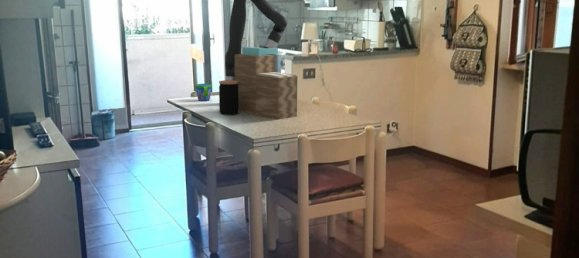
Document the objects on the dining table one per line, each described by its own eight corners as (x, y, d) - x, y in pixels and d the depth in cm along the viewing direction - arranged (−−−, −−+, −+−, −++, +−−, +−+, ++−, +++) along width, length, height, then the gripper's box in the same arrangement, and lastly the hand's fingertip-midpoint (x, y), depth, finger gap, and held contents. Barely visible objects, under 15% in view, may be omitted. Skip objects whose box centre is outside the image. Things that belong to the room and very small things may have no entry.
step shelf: (278, 119, 299) (278, 58, 293) (235, 110, 324) (234, 54, 318) (296, 116, 309) (297, 57, 302) (253, 107, 334) (253, 53, 327)
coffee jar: (241, 112, 318) (241, 80, 314) (233, 115, 308) (233, 83, 304) (224, 111, 321) (224, 79, 318) (216, 114, 311) (215, 82, 308)
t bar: (258, 56, 309) (258, 48, 308) (242, 54, 319) (242, 47, 318) (283, 54, 322) (283, 47, 322) (267, 52, 332) (267, 45, 331)
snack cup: (194, 98, 365) (194, 83, 363) (211, 98, 367) (210, 82, 365) (196, 102, 350) (195, 86, 348) (213, 102, 353) (213, 85, 350)
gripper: (260, 45, 341) (248, 69, 341) (267, 45, 328) (255, 71, 327) (270, 50, 344) (259, 74, 344) (278, 51, 330) (266, 76, 330)
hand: (257, 72), depth 336 cm, fingers open, 8 cm apart
